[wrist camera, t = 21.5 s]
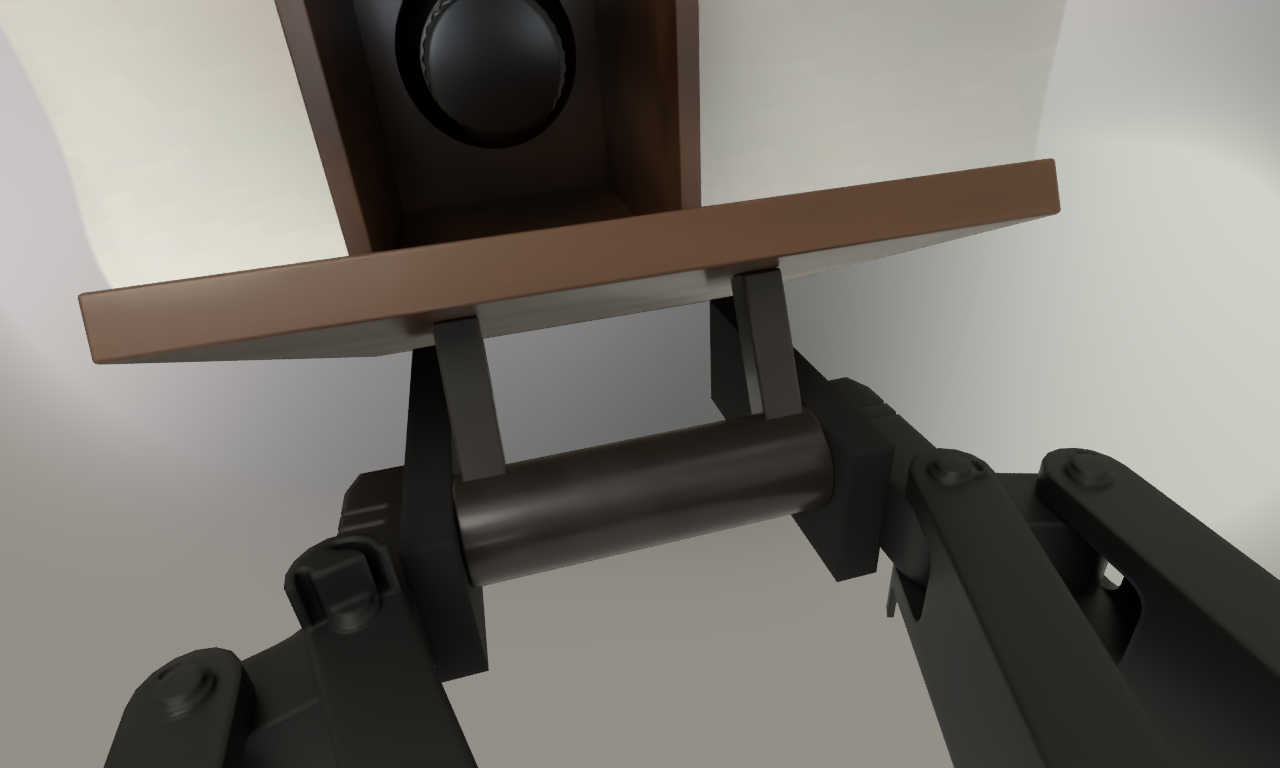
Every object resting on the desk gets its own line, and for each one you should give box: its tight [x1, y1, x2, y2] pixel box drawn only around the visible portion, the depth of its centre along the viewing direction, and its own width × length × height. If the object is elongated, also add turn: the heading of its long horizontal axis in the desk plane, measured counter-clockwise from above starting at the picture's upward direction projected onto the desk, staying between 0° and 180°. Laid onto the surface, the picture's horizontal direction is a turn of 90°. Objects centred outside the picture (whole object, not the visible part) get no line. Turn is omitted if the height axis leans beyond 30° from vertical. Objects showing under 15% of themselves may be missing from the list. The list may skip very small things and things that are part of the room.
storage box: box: [274, 0, 701, 256], centre depth 28 cm, size 17×13×14 cm
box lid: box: [78, 158, 1061, 588], centre depth 17 cm, size 17×13×5 cm
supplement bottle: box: [395, 0, 577, 149], centre depth 28 cm, size 7×7×12 cm
